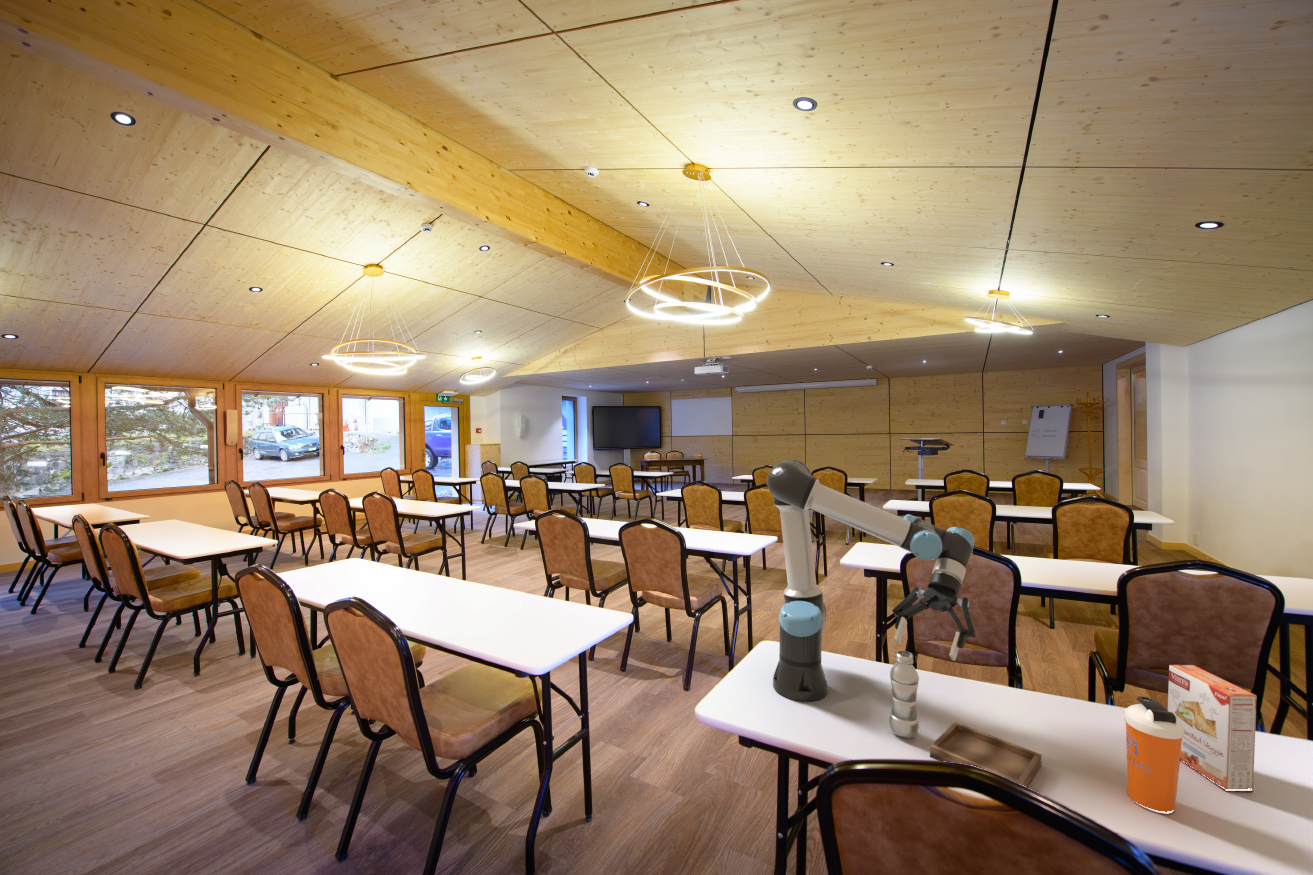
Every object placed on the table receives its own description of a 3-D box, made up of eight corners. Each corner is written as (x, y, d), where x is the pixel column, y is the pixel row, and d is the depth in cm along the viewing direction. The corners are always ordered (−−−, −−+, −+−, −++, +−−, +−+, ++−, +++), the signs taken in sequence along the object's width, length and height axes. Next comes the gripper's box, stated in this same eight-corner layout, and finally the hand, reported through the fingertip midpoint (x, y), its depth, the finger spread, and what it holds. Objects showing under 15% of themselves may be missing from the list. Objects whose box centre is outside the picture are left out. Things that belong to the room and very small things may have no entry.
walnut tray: (930, 756, 126) (930, 745, 125) (954, 731, 136) (954, 721, 136) (1021, 796, 112) (1022, 784, 112) (1041, 765, 122) (1041, 754, 122)
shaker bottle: (1156, 788, 115) (1160, 694, 114) (1194, 819, 106) (1198, 718, 105) (1110, 785, 116) (1113, 692, 115) (1144, 816, 107) (1147, 715, 106)
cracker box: (1164, 751, 128) (1167, 663, 127) (1190, 752, 127) (1194, 663, 127) (1224, 792, 114) (1228, 693, 113) (1254, 793, 113) (1258, 694, 113)
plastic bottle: (906, 744, 130) (908, 662, 129) (883, 730, 136) (884, 651, 135) (924, 737, 133) (926, 656, 132) (900, 723, 139) (902, 646, 138)
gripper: (1001, 597, 142) (981, 672, 133) (904, 577, 161) (880, 641, 151) (995, 581, 138) (974, 657, 129) (896, 562, 157) (871, 628, 147)
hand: (923, 649), depth 140 cm, fingers open, 13 cm apart
